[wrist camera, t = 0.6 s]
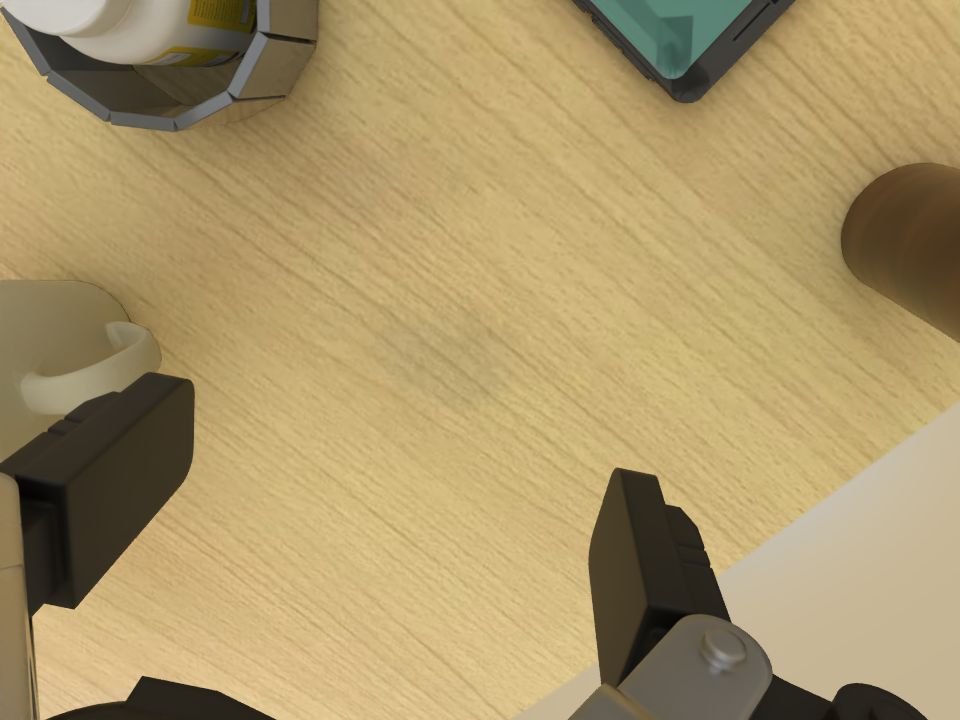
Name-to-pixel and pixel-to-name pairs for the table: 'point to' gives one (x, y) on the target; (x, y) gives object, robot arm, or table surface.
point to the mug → (62, 354)
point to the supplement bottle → (146, 28)
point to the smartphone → (684, 37)
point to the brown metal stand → (910, 241)
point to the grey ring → (141, 104)
